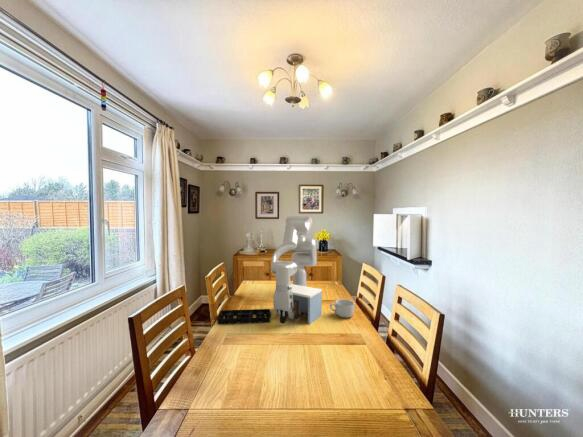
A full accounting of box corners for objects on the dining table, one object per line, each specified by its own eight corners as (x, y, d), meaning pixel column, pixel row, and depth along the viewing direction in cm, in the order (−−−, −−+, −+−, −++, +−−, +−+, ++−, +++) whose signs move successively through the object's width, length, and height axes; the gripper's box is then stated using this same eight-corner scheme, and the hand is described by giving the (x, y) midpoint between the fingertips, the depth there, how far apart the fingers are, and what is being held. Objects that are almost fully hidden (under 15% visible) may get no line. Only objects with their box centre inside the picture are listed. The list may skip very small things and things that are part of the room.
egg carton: (216, 317, 150) (216, 310, 150) (267, 311, 159) (267, 305, 159) (217, 330, 134) (217, 322, 134) (274, 323, 143) (274, 316, 143)
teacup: (352, 312, 156) (353, 299, 156) (355, 320, 146) (355, 305, 146) (329, 311, 158) (329, 298, 158) (330, 319, 147) (330, 304, 147)
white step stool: (289, 307, 164) (289, 283, 163) (321, 315, 152) (321, 289, 152) (276, 315, 152) (276, 289, 151) (309, 324, 140) (310, 295, 140)
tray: (293, 313, 156) (293, 296, 155) (307, 316, 151) (307, 299, 151) (282, 320, 146) (282, 302, 145) (296, 324, 141) (296, 305, 140)
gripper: (299, 288, 137) (298, 323, 137) (275, 284, 145) (275, 317, 145) (291, 291, 130) (291, 328, 131) (267, 287, 138) (267, 322, 139)
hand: (282, 322), depth 138 cm, fingers closed
